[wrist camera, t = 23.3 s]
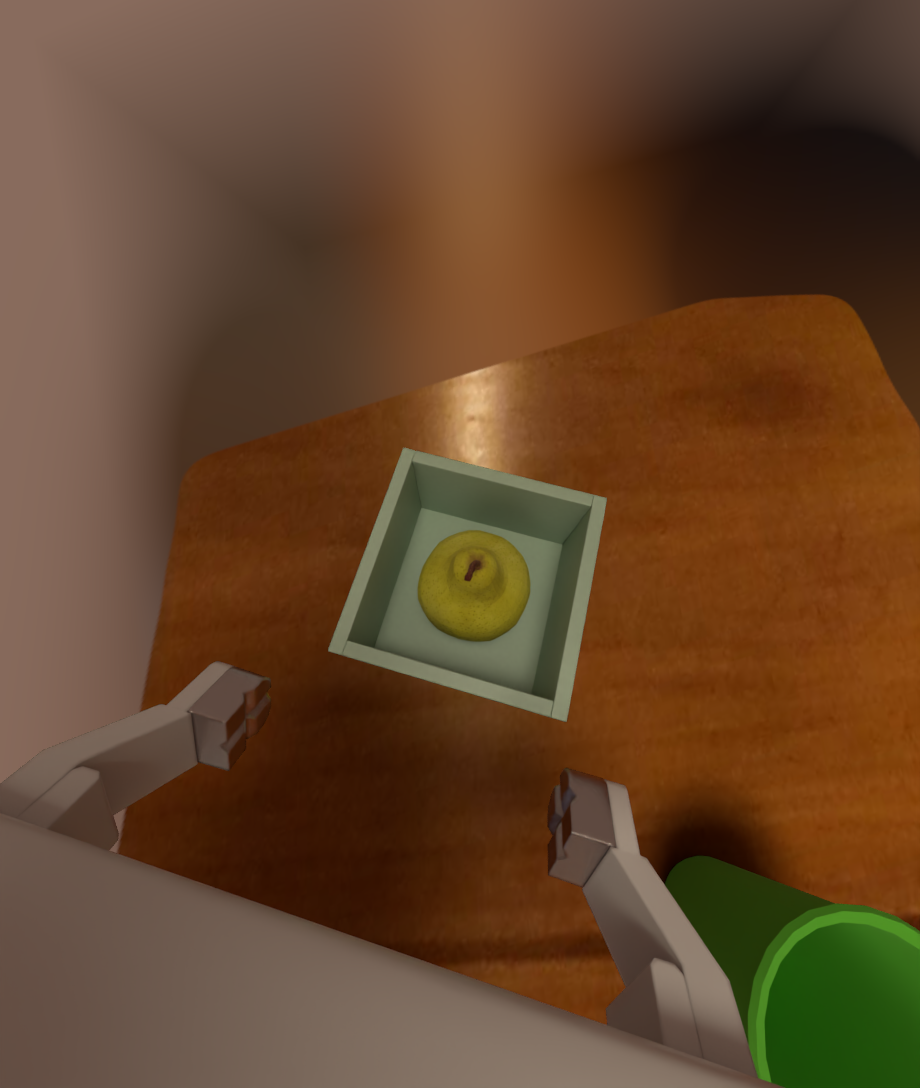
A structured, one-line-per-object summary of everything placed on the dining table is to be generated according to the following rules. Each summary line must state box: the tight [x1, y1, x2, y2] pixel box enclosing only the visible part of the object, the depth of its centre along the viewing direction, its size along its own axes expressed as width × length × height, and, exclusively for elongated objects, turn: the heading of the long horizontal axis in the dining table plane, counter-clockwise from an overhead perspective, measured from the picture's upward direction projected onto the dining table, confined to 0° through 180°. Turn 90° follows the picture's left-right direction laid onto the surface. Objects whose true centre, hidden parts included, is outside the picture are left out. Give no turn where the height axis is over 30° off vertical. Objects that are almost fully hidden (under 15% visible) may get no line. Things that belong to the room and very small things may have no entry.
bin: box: [328, 448, 607, 722], centre depth 26 cm, size 13×13×8 cm
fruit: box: [417, 530, 530, 642], centre depth 24 cm, size 7×7×12 cm
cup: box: [665, 856, 920, 1088], centre depth 19 cm, size 9×9×11 cm
